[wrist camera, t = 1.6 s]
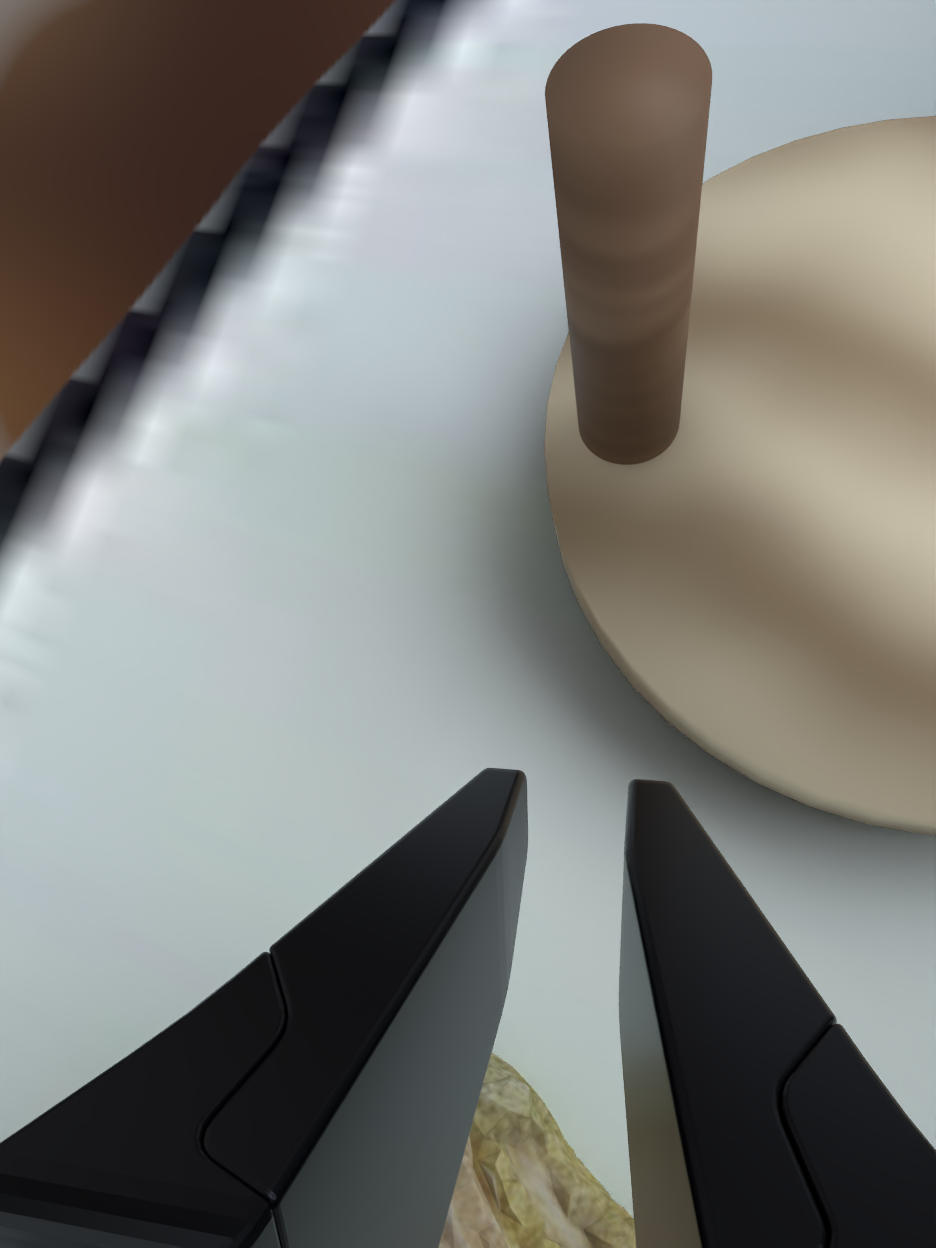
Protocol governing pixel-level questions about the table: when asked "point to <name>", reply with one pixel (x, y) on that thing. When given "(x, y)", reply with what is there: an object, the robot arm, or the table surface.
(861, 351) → the disc
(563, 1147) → the ceramic model
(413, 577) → the table surface
